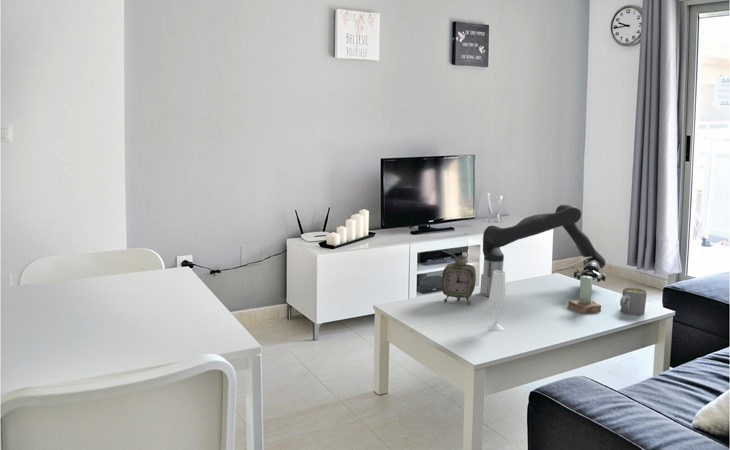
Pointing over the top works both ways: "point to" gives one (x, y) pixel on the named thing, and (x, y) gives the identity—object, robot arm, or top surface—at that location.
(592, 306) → the walnut block
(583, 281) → the candle
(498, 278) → the champagne flute
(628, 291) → the coffee mug
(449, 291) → the tabletop clock
